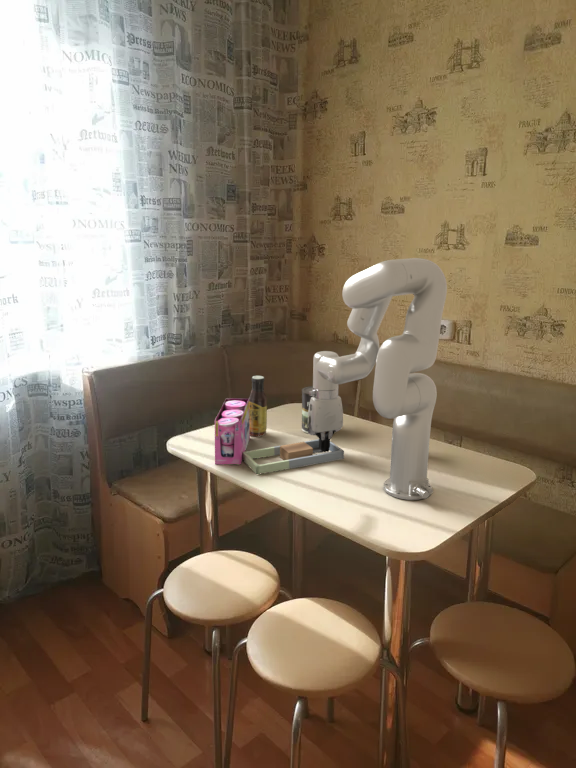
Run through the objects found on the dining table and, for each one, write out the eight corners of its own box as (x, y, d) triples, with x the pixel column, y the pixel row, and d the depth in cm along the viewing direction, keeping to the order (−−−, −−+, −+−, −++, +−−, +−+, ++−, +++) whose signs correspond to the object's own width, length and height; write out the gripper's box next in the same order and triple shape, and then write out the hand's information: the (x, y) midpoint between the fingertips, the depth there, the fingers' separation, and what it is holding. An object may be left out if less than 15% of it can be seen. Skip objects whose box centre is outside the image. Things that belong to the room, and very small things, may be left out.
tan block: (312, 460, 173) (312, 448, 172) (288, 465, 170) (288, 452, 169) (303, 453, 179) (303, 441, 177) (280, 458, 175) (280, 445, 174)
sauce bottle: (244, 433, 194) (243, 376, 189) (258, 429, 198) (257, 373, 193) (256, 439, 190) (255, 380, 184) (271, 434, 194) (270, 377, 188)
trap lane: (343, 458, 174) (344, 450, 174) (256, 474, 163) (256, 466, 163) (325, 445, 184) (325, 438, 184) (242, 459, 173) (242, 452, 173)
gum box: (240, 467, 168) (239, 423, 165) (213, 466, 169) (212, 422, 165) (250, 437, 191) (249, 398, 188) (226, 437, 192) (225, 397, 188)
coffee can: (332, 435, 193) (333, 394, 190) (301, 434, 194) (301, 394, 190) (331, 424, 203) (332, 385, 199) (301, 424, 204) (301, 385, 200)
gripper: (308, 399, 167) (307, 459, 172) (353, 393, 172) (351, 451, 177) (297, 392, 173) (296, 450, 178) (341, 387, 179) (339, 442, 184)
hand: (324, 450), depth 178 cm, fingers closed
